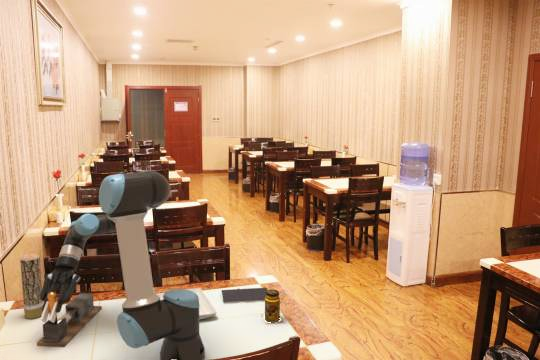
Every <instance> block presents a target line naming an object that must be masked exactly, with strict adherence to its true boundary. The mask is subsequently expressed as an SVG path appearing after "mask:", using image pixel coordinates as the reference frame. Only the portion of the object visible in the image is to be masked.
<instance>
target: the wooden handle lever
mask: <svg viewBox="0 0 540 360" xmlns="http://www.w3.org/2000/svg"><path fill="white" fill-rule="evenodd" d="M57 296H58V295H57V292H50V293H49V294H48V295H47V298H48V300H49V314H48V316H50V315H51V312H52V310H53V307H54V304H55V302H57ZM76 315H77V308H71V309H70V310H69V311H68V312H66V311H65V313H64V314H63V315H62V316H60V318H58V315H57V316H56V319H55V322H54V323H53V322H51V321H50V324H56V325H57V324H58V323H59V322H60V321H61V320H62V319H63V318H66V322H67V323H68V322H69V321H70V320H71V319H72V318H73V317H74V316H76Z"/></svg>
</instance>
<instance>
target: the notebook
mask: <svg viewBox="0 0 540 360" xmlns="http://www.w3.org/2000/svg"><path fill="white" fill-rule="evenodd" d="M268 290H269V289H268V288H267V287H252V288H236V289H234V288H233V289H221V294H222V296H221V297H222V301H223V304H225V303H228V304H240V303H239V302H245V303H255V302H254V301H262V302H265V298H266V292H267V291H268ZM237 302H238V303H237Z"/></svg>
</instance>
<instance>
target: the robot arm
mask: <svg viewBox="0 0 540 360" xmlns="http://www.w3.org/2000/svg"><path fill="white" fill-rule="evenodd" d="M100 183H101V184H100V187H99V192H98V203H99V206H100V210H101V211H102V212H103V213H105V214H97V215H95V214H93V213H84V214H82V215H81V216H80V217H79V218H78V219H76V220H74V221H72V222H71V224H70V225H69V228H67V234H66V236H65V238H64V242H63V245H62V246H61V249H60V252H59V254H58V258H57V260H56V263H55V266H54V270H52V272H51V273H49V274H47V273H45V274H44V275H43V278H44V281H43V286H42V292H41V296H40V299H41V300H42V301H43V307H42V311H43V313H42V315H41V316H40V321H42V322H43V323H46V322H47V321H48V320H50V321H51V322H53V323H54V322H55V319H56V316H57V317H58V314H59V313H61V311H62V307H63V306H64V304H66V303H67V304H68V303H69V302H71V298H72V296H73V294H74V292H75V290H76V287H77V286H78V284H79V283H80V281H81V280H82V277H81V276H80V275H78V274H77V273H76V271H77V269H78V267H79V263H80V262H79V261H80V260H81V257H82V255H83V251H84V248H85V245H86V243H87V241H88V239H89V238H91V237H94V236H100V235H106V234H109V233H115V232H116V237H117V244H118V250H119V257H120V264H121V271H122V278H123V283H124V284H123V285H124V293H125V301H123V303H122V305H121V307H122V312H120V313H118V315H117V317H116V326H117V330H118V332H119V335H120V336H121V338H122V341H123V342H124V343H125V344H126V345H127V346H128V347H129V348H132V349H139V348H142V347H144V346H145V347H146V346H148V345H150V344H153V343H155V342H157V341H159V340H162V339H163V341H162V344H161V347H160V351H159V360H171V359H177V360H202V359H203V358H204V359H205V353H206V351H205V349H206V348H205V346H204V343H203V339H202V337H201V334H200V319H199V307H200V305H199V298H198V295H197V294H196V293H194V292H193V291H190V290H185V289H184V288H183V289H182V288H173V289H168V290H167V291H164V292H165V293H164V292H163V293H164V296H163V298H164V299H163V300H160V297H159V296H158V295H156V294H157V293H155V288H154V281H153V276H152V267H151V262H150V254H149V248H148V241H147V234H146V227H145V220H144V219H145V217H146V216H147V215H148V212H149V211H150V210H151V209H157V208H159V207H160V206H162V205H164V204H165V203H166V202H167V201H168V200H169V198H170V195H171V186H170V185H171V184H170V182H169V181H168V179H167V178H166V177H165V176H164V175H163V174H161V173H159V172H157V171H151V170H148V171H137V172H125V173H117V174H116V173H115V174H110V175H108V176H105V177H104V179H102V182H100ZM51 282H52V283H51ZM69 283H70V284H69ZM59 287H60V288H59ZM58 288H59V289H60V290H59V294H58V298H57V299H56V302H55V304H54V307H53V310H52V312H51V315H49V300H48V298H47V295H48V294H49V293H50V292H55V293H57V289H58ZM48 317H49V318H48ZM47 319H48V320H47ZM204 359H203V360H204Z"/></svg>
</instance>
